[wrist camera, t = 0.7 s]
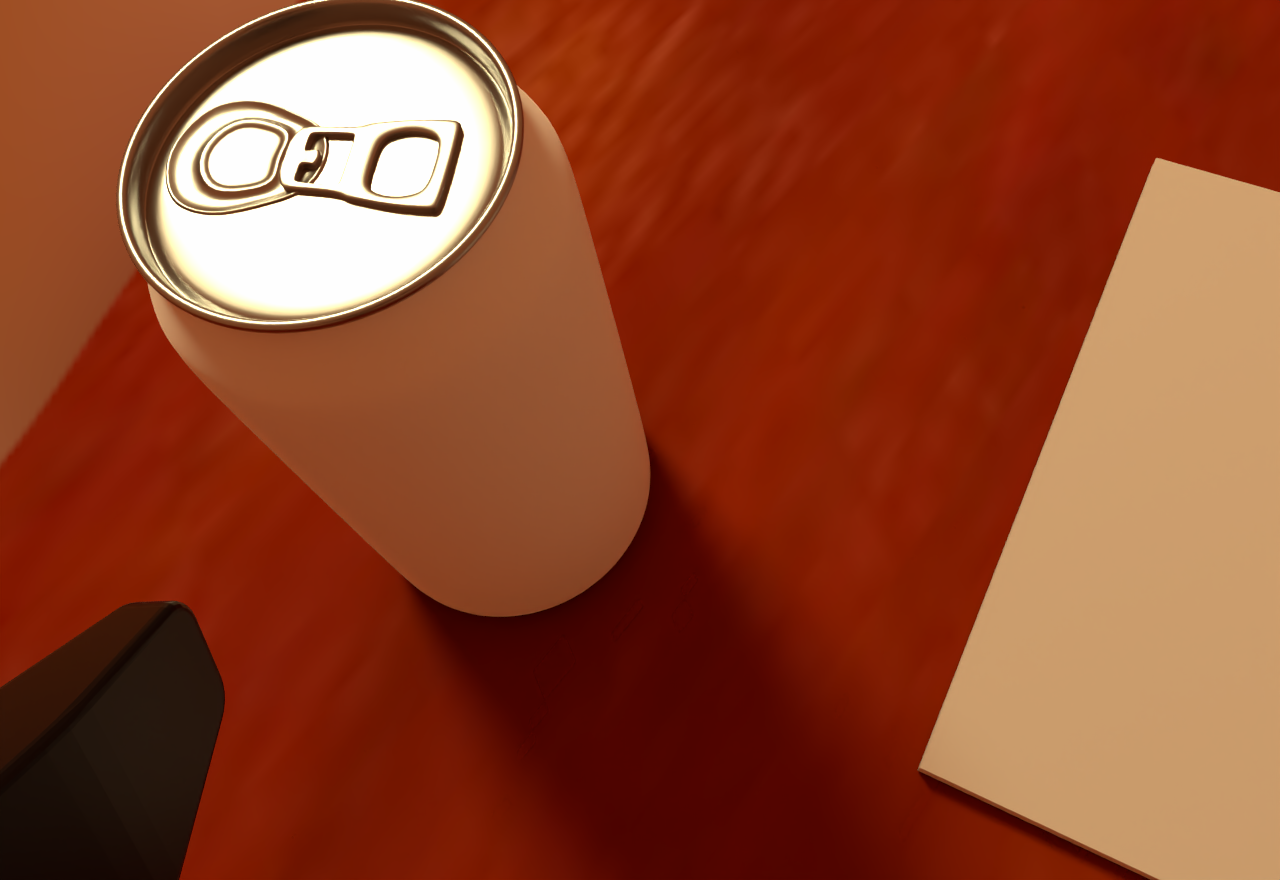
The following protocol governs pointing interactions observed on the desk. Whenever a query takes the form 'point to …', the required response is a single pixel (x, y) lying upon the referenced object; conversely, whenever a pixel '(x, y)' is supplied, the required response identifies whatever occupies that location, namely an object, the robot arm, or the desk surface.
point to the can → (396, 293)
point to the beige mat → (1147, 565)
